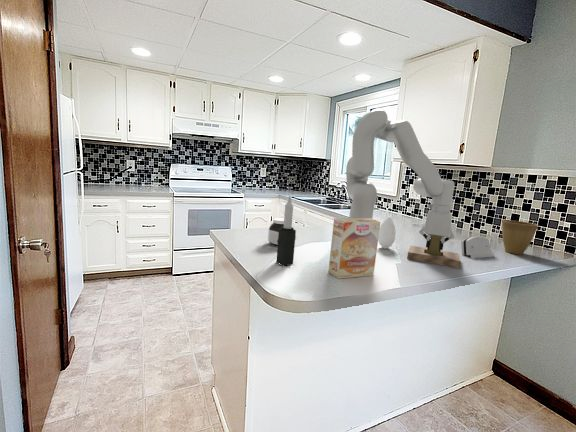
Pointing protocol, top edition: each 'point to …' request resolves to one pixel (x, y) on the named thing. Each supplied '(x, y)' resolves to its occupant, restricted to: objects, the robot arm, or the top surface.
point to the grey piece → (476, 247)
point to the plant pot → (517, 235)
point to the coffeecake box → (353, 247)
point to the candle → (286, 237)
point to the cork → (434, 245)
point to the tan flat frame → (434, 257)
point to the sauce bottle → (387, 233)
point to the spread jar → (275, 231)
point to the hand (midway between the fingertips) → (433, 249)
